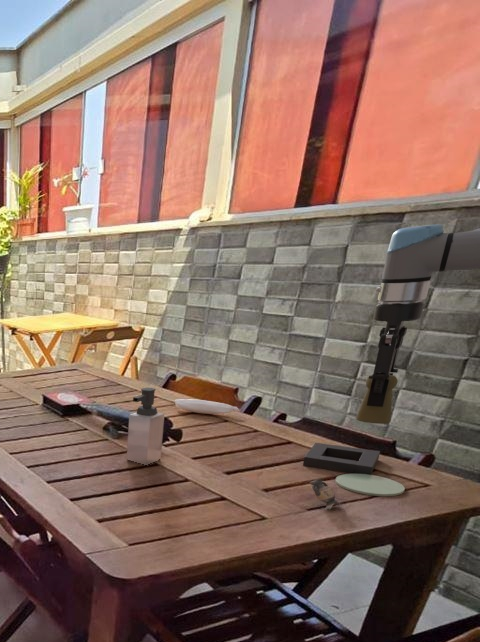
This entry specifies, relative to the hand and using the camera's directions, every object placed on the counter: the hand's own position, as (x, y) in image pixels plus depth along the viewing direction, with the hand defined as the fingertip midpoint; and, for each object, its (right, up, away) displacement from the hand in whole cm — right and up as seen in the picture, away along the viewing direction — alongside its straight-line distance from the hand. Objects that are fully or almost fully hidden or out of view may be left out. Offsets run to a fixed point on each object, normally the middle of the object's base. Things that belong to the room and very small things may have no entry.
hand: (376, 402), depth 116 cm
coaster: (0, -20, +2) cm, 20 cm away
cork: (0, -4, +1) cm, 4 cm away
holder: (+6, -15, +15) cm, 22 cm away
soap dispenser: (-40, -15, +31) cm, 52 cm away
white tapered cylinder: (+22, +22, +103) cm, 108 cm away
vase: (-16, -24, -3) cm, 29 cm away
